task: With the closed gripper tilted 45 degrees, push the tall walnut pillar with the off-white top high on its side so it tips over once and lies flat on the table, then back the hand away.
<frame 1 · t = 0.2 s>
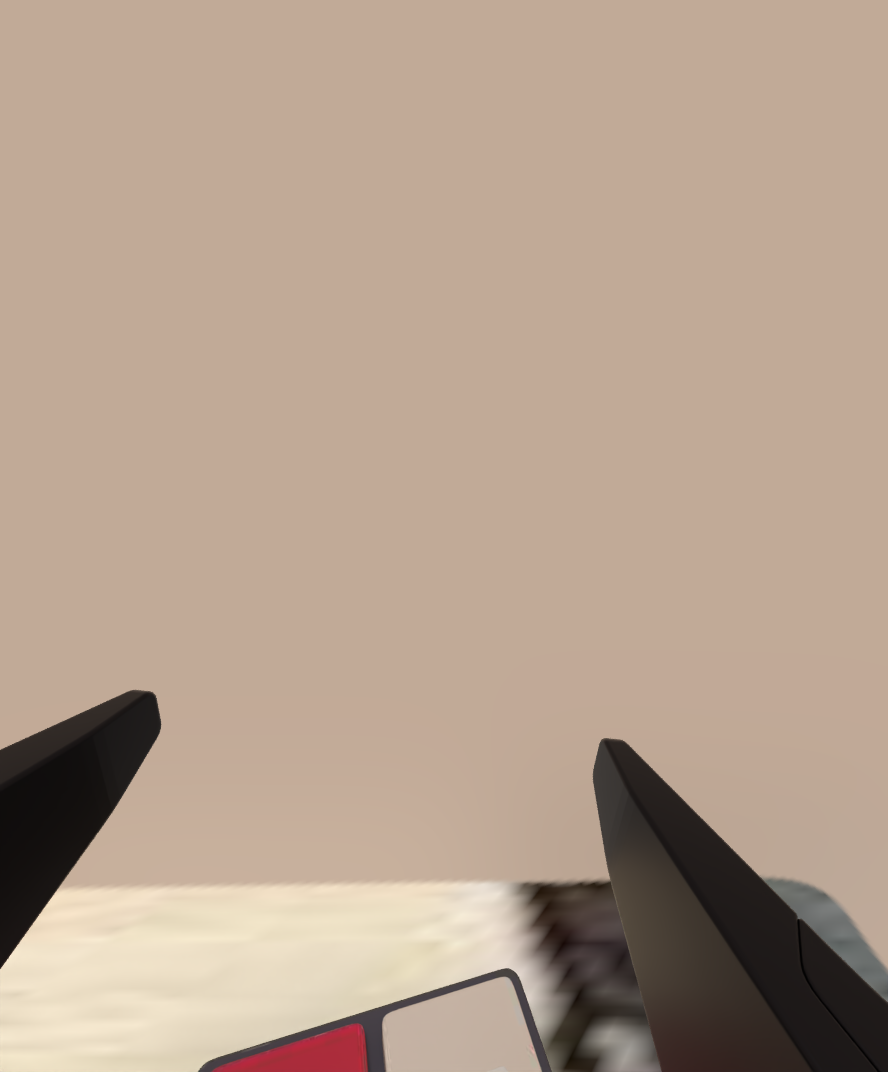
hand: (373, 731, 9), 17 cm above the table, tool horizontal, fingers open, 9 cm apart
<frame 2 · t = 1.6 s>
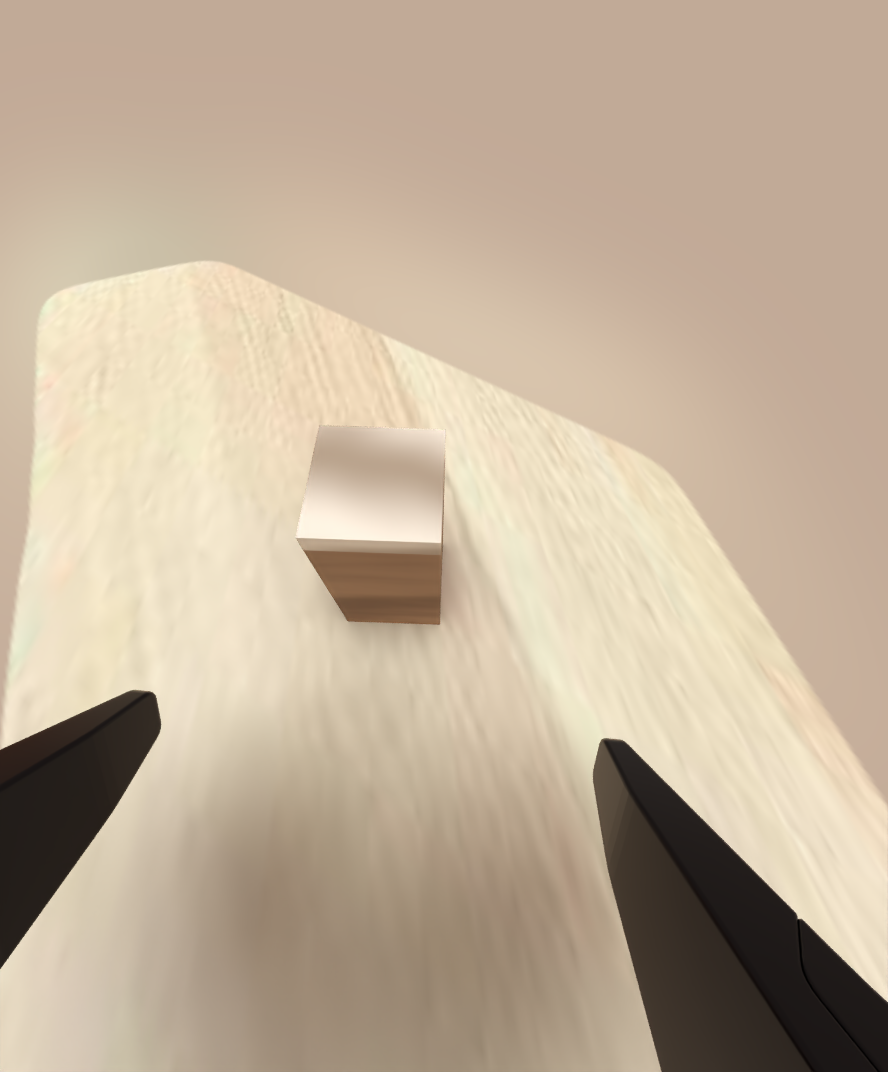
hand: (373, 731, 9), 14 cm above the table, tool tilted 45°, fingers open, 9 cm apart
walnut pillar: (397, 580, 25), on the table
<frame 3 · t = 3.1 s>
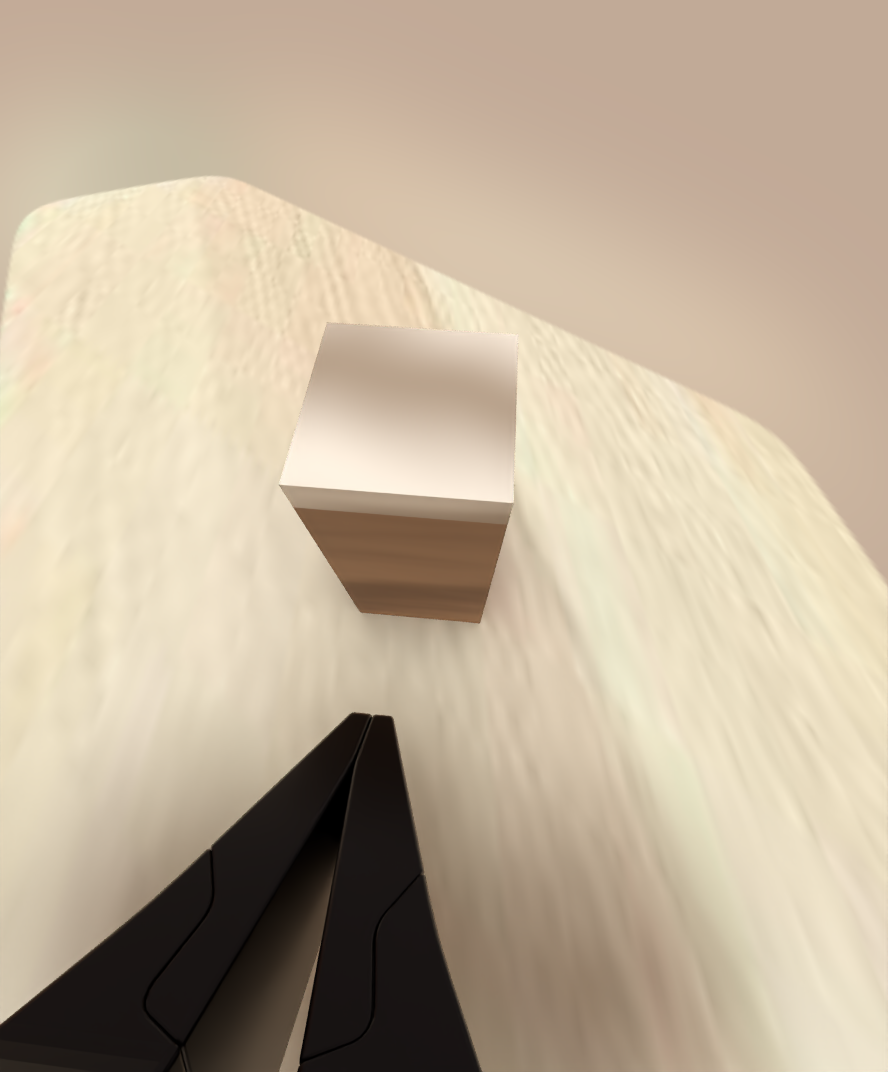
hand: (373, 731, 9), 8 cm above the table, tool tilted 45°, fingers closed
walnut pillar: (426, 562, 19), on the table
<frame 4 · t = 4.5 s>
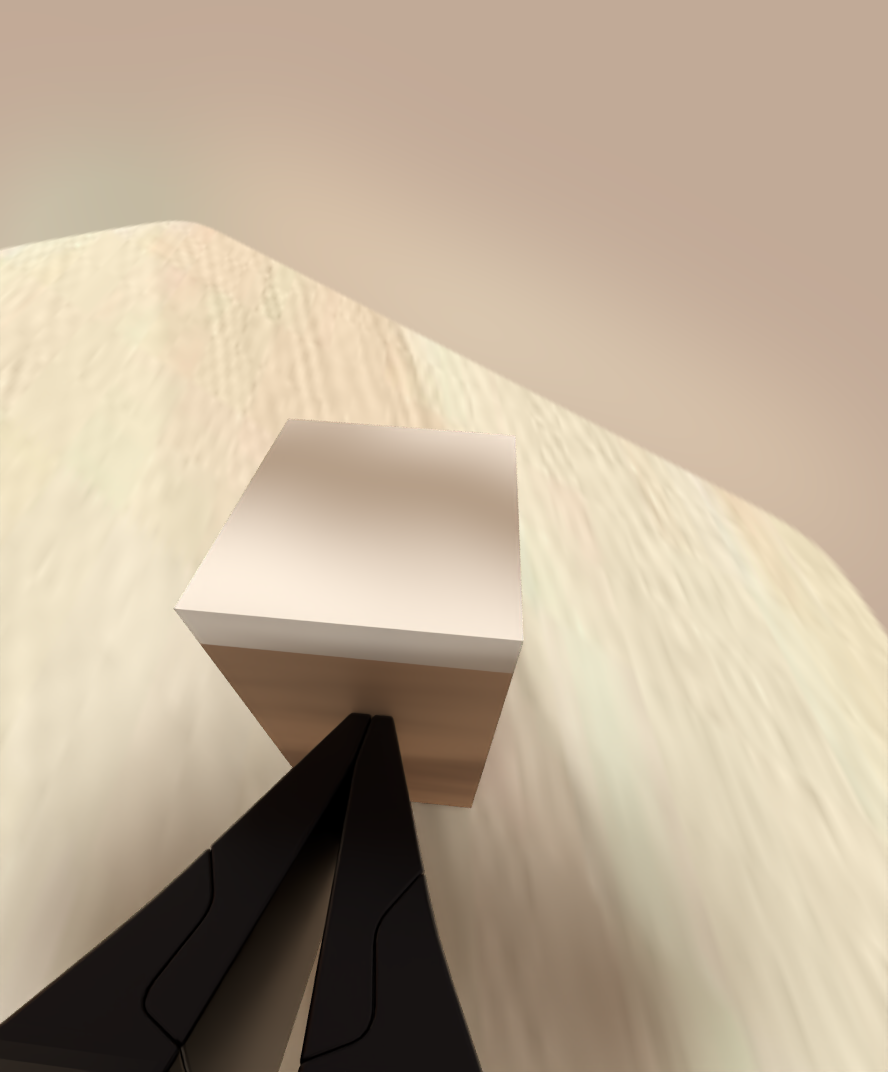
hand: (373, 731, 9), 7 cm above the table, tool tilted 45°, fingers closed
walnut pillar: (402, 717, 15), point 1 cm above the table, tilted 17°
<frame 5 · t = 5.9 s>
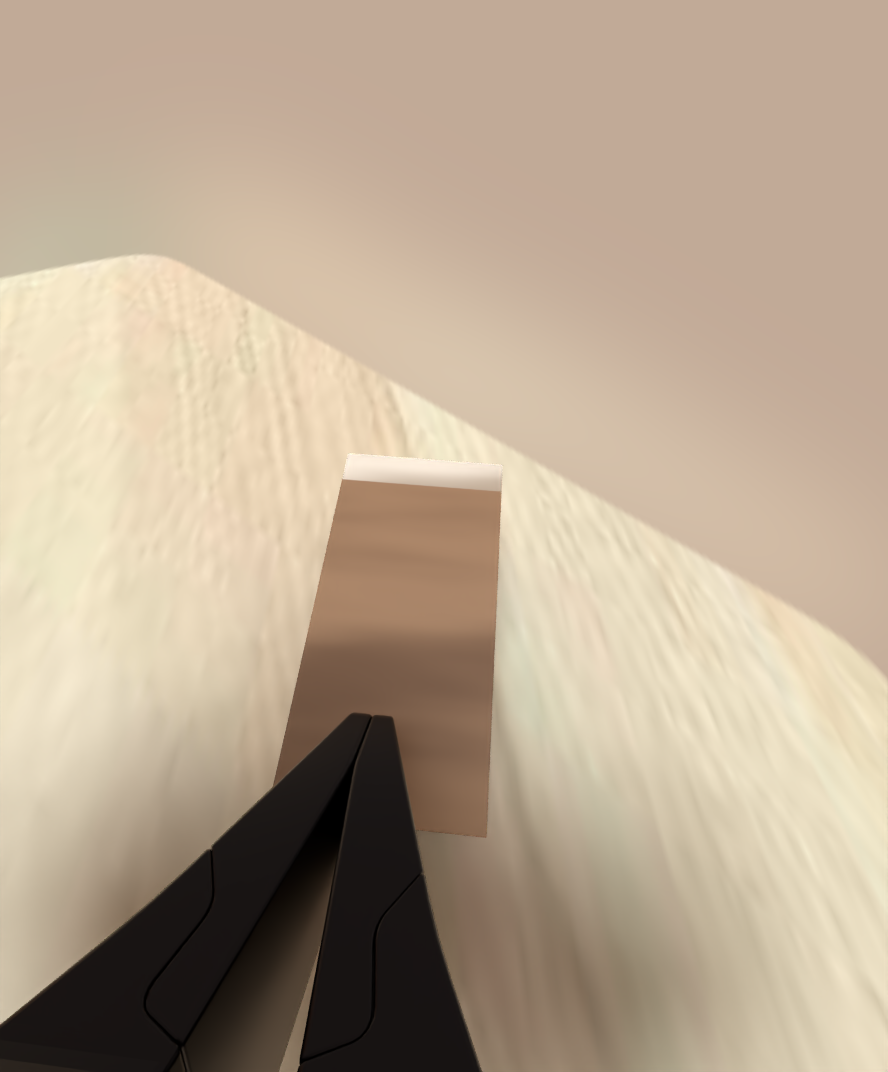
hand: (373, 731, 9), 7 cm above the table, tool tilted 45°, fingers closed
walnut pillar: (388, 810, 12), point 2 cm above the table, tilted 90°
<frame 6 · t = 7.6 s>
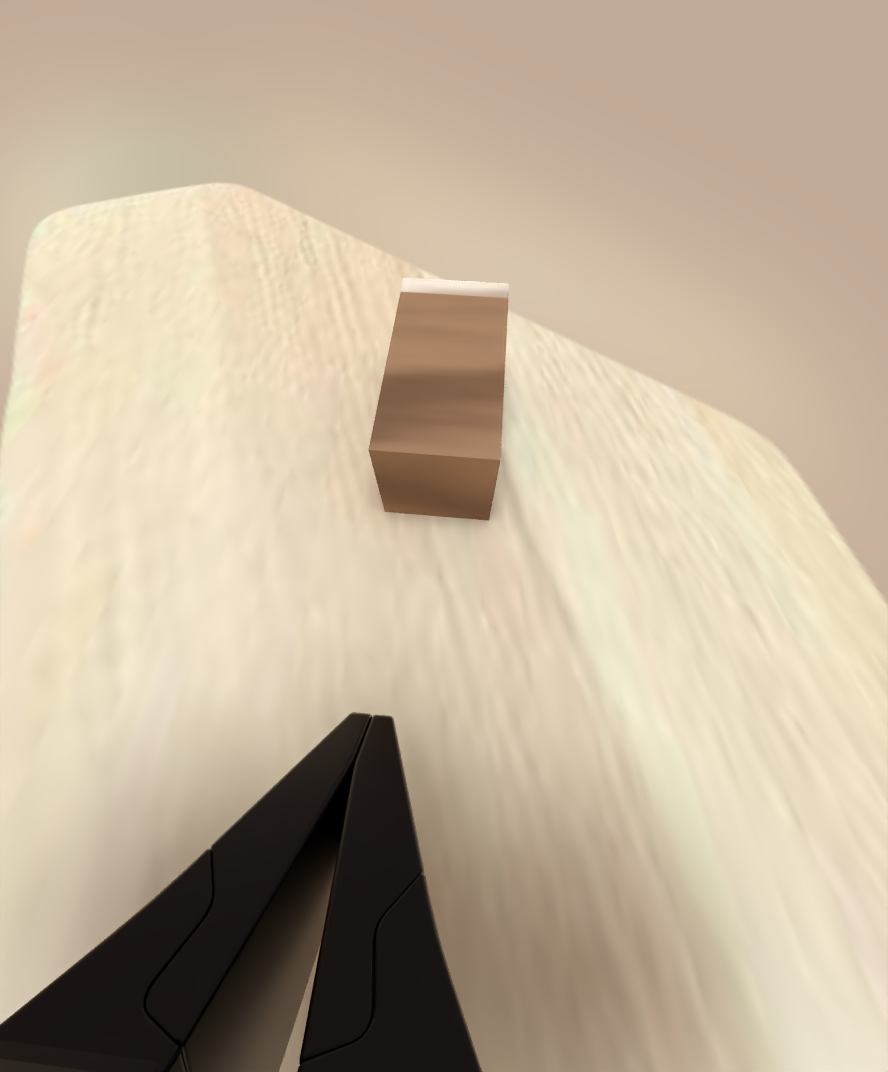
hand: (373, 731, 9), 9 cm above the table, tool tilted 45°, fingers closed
walnut pillar: (435, 489, 19), point 2 cm above the table, tilted 90°
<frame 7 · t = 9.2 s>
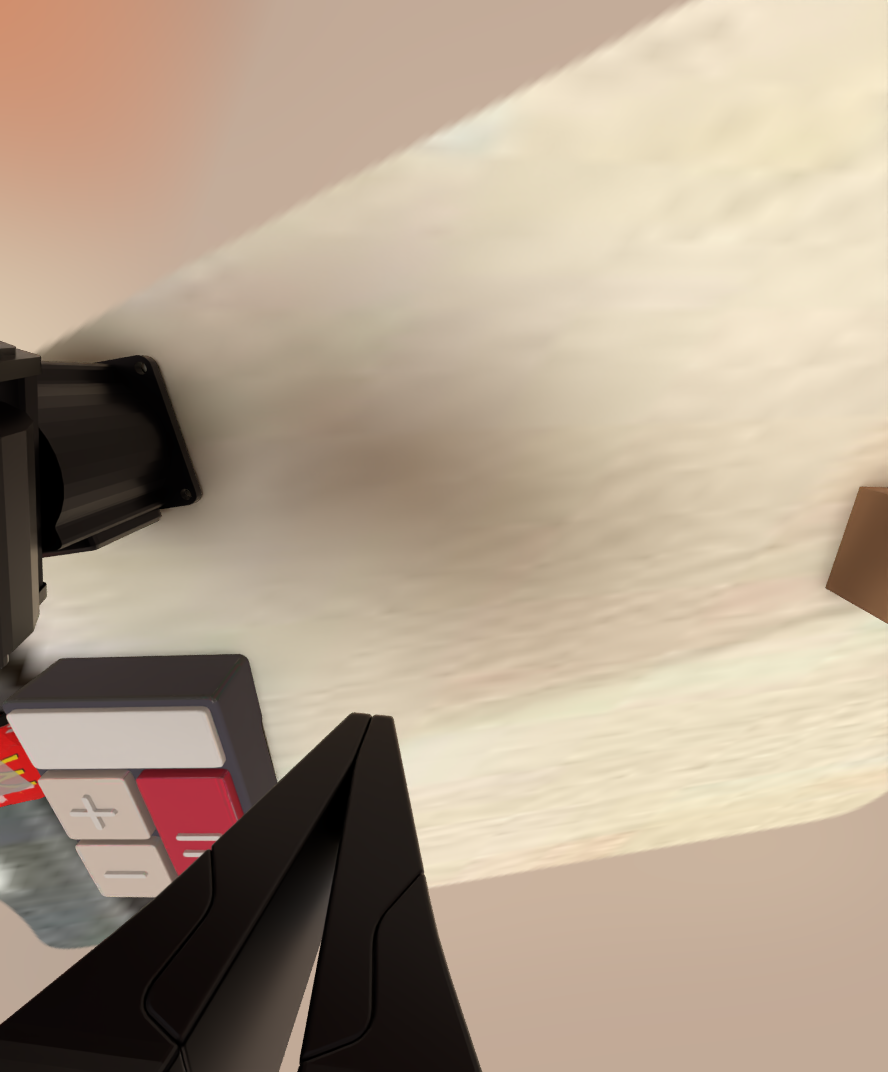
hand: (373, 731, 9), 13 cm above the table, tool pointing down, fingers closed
calculator: (189, 754, 27), on the table
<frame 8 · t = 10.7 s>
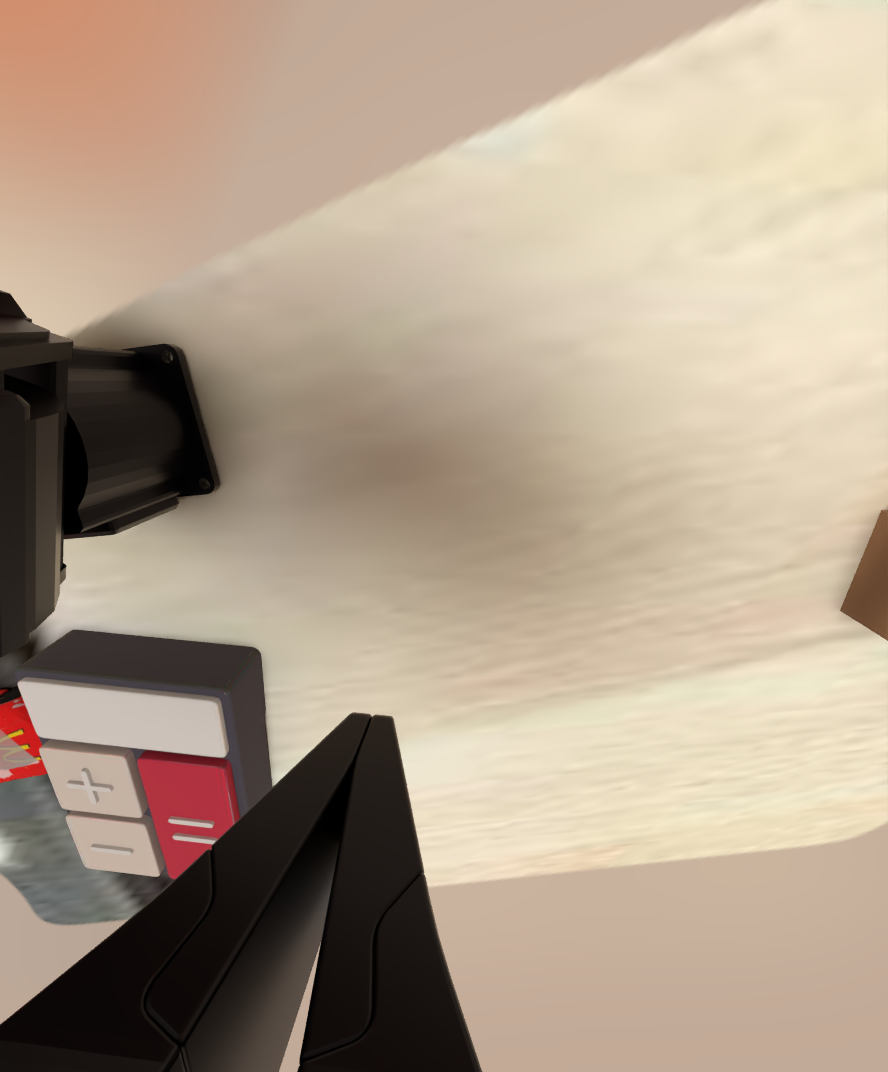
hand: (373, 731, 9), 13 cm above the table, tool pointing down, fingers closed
calculator: (187, 737, 27), on the table
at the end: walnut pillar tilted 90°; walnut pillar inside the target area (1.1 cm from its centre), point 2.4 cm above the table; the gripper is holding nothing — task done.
